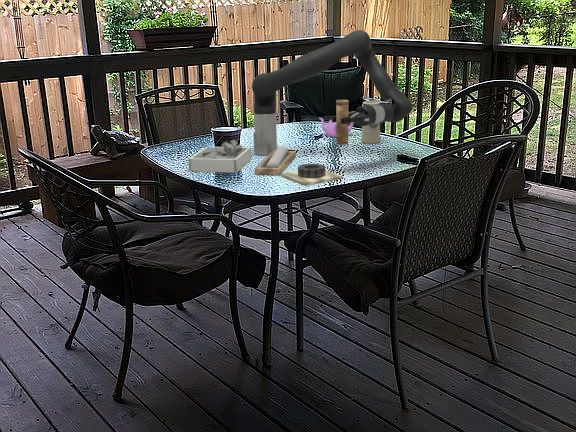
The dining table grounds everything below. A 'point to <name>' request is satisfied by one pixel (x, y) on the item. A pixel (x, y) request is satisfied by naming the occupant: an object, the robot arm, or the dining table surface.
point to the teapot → (332, 128)
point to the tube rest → (279, 170)
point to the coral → (217, 154)
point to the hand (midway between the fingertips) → (337, 120)
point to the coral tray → (219, 161)
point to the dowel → (340, 128)
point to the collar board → (313, 180)
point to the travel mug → (371, 129)
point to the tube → (277, 157)
